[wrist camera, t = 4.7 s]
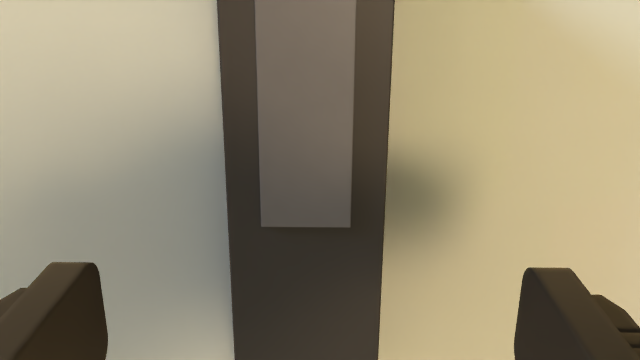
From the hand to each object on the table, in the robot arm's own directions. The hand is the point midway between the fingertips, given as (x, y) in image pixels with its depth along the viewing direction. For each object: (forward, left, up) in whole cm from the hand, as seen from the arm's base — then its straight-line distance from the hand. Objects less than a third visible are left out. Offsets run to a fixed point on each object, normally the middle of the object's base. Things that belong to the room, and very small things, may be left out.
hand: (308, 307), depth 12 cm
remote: (0, 0, -10) cm, 10 cm away
